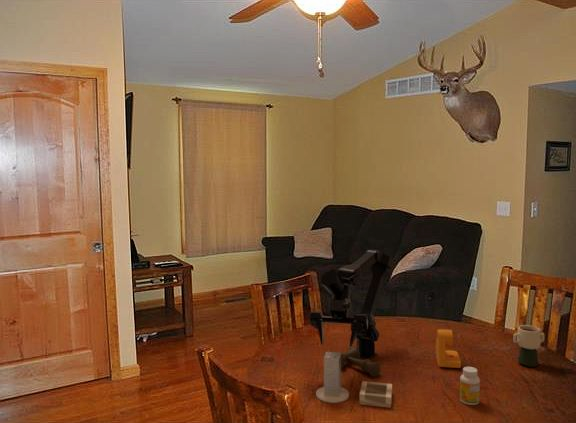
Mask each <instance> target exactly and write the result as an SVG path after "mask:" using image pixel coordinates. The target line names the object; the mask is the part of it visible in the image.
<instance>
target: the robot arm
mask: <svg viewBox="0 0 576 423" xmlns="http://www.w3.org/2000/svg"><path fill="white" fill-rule="evenodd" d="M395 264H396V263H395V260H394V259H393V257H392V256H389V255H387V254H385V253H383V252H381V251H380V250H377V249H367V250H366V251H365V253H364V254H363V255H362V256H360V257H359V258H357V260H355V261H354V262H353V263H351V264H346V265H344V266H341V267H340V268H338V270H337V269H336V268H332V267H331V268H330V270H329V271H326V272H324V273H323V274H322V276H321V277H320V283H321V285H322V286H323V287H324V288H325V289H326V290H327V292H328V293H329V294H331V295H332V296H331V297H332V298H331V299H329V301H328V304H329V305H328V314H329V315H328V316H327V315H324V314H323V312H322V311H310V313H309V315H308V316H309V317H308V320H309V323H310V326H312V327H313V328H314V329H317V331H318V337H319V340H320V341H319V342H320V345H323V344H324V323H330V324H331V323H332V324H333V323H334V324H347V325H348V324H350V332H351V334H350V340H349V347H353V345H354V343H355V340H356V348H357V349H358V350H359V353H360V358H363V359H369V358H371V357H376V356H378V353H377V352H376V349H375V348H376V346H375V342H378V340H379V338H380V331H379V330H378V329H377V328H376V324H377V321H376V319H375V312H376V309H377V306H378V303H379V298H380V296H381V292H382V290H383V285H384V283H385V280H386V279H388V278H389V277H390V276H391V275H392V273H393V271H394V270H393V269H394V268H395ZM369 269H370V272H371V278H370V282H369V284H368V288H367V291H366V294H365V298H364V300H363V303H362V307H361V309H360V311H358V312H355V313H354V315H353V317H349V310H351V309H352V299H351V296H352V294H353V293H352V291H351V288H350V287H349V286H352V287H355V286H357V285H358V284H359V283H360V282H361V281H362V278H363V277H362V275H363V274H364V273H365V272H366V271H367V270H369Z"/></svg>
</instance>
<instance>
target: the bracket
mask: <svg viewBox="0 0 576 423" xmlns="http://www.w3.org/2000/svg"><path fill="white" fill-rule="evenodd" d="M453 336H454V335H453V330H452V329H443V328H442V329H440V328H439V329H438V328H437V330H436V341H435V343H436V344H435V357H436V362H437V366H439V368H442V367H443V368H455V369H460V368H462V360H461V357H460V356H459V354H458V351H456V350H450V349H449V350H447V348H446V346H448V347H449V346H450V347H451V346H452V347H453V343H454V337H453Z"/></svg>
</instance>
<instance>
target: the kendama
mask: <svg viewBox="0 0 576 423" xmlns="http://www.w3.org/2000/svg"><path fill="white" fill-rule="evenodd" d="M332 352H337V353H341V370H342V369H344V367H345V365H346V363H349V362H351V363H352V364H354V365H356V366H357V367H359V368H360V369H361V371H362V372H364V373H369V375H370V376H371V377H372V378H375V377H377V376H379V375H380V372H381V369H382V367H381V363H380V362H378V361H374V362H372V361H371V360H370V359H369V358H365V359H361V357H360V353H359V350H358V349H357V347H355V346H351V347H350V346H349V348H348V349H347V351H346V352H340V351H337V350H336V351H335V350H333V351H332Z"/></svg>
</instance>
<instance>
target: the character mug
mask: <svg viewBox="0 0 576 423" xmlns="http://www.w3.org/2000/svg"><path fill="white" fill-rule="evenodd" d="M541 331H542V329H540V328H539V327H538V326H534V325H527V324H521V325H519V326H517V333H514V334H512V337H513V338H512V341H513V343H515V344H517V345H518V346H519V347H520V348H519V352H518V353H519V354H518V358H517V359H518V360H517V362H518V363H519V364H521V365H523V366H527V367H531V368H532V367H537V366H539V356H538V351H537V349H539V348H540V346H541V343H544V342H545V333H544V332H541Z"/></svg>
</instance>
